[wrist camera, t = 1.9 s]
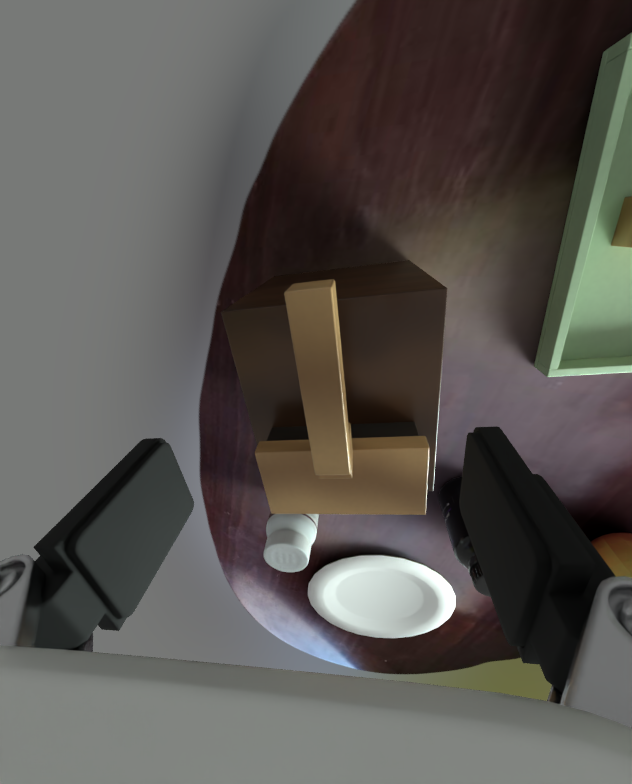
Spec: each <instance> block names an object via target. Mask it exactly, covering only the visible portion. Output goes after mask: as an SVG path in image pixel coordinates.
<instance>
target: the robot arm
mask: <svg viewBox="0 0 632 784" xmlns="http://www.w3.org/2000/svg"><path fill="white" fill-rule="evenodd" d="M459 505H460V511H461V515H462V517H463V520H464V523H465V526H466V529H467V531H468V534H469V537H470V540H471V542H472V545H473V548H474V551H475V554H476V556H477V559H478V562H479V565H480V568H481V570H482V573H483V576H484V579H485V581H486V584H487V587H488V590H489V593H490V595H491V598H492V601H493V604H494V606H495V609H496V612H497V615H498V618H499V620H500V623H501V626H502V629H503V632H504V634H505V637H506V639H507V641H508V643H509V644H510V645H511V646H517V648H518V651H519V653H520V656H521V659H522V661H523V663H530V664H540V666H541V669H542V671H543V674H544V676H545V678H546V680H547V681H548V682H549V683H551V684H552V687H551V691H550V693H549V696H548V700H547V701H543V700H538V699H531V698H526V697H520V696H514V695H509V694H503V693H496V692H488V691H480V690H471V689H463V688H454V687H446V686H438V685H430V684H421V683H413V682H403V681H393V680H383V679H373V678H363V677H353V676H342V675H333V674H322V673H313V672H302V671H293V670H283V669H271V668H261V667H250V666H240V665H230V664H219V663H207V662H197V661H186V660H176V659H164V658H155V657H154V658H153V657H143V656H131V655H120V654H108V653H97V652H93V631H94V629H95V628H96V626H97V625H99V627H100V628H101V629H104V630H118V631H119V630H120V628H121V627H122V625H123V623H124V621H125V620H126V618H127V617H129V616H130V615H131V614H132V613H133V612H134V611H135V609H136V607H137V605H138V604H139V602H140V600H141V599H142V597H143V595H144V593H145V591H146V590H147V588H148V586H149V585H150V583H151V581H152V579H153V578H154V576H155V574H156V573H157V571H158V569H159V567H160V566H161V564H162V562H163V560H164V559H165V557H166V556H167V554H168V552H169V550H170V548H171V547H172V545H173V543H174V542H175V540H176V538H177V537H178V535H179V533H180V531H181V530H182V528H183V526H184V525H185V523H186V521H187V519H188V517H189V516H190V514H191V512H192V510H193V507H194V501H193V498H192V496H191V494H190V491H189V489H188V487H187V484H186V482H185V480H184V477H183V475H182V472H181V470H180V468H179V465H178V463H177V460H176V458H175V456H174V453H173V451H172V449H171V447H170V445H169V444H168V443H166V442H165V440H163V439H161V438H154V439H143V440H142V441H140V442H139V443H138V444H137V445H136V446H135V447H134V448H133V449H132V450H131V451H130V452H129V453H128V454H127V455H126V456H125V457H124V458H123V459H122V460H121V461H120V462H119V463H118V464H117V465H116V466H115V467H114V468H113V469H112V470H111V471H110V472H109V473H108V474H107V475H106V476H105V477H104V478H103V479H102V480H101V481H100V482H99V483H98V484H97V485H96V486H95V487H94V488H93V489H92V490H91V491H90V492H89V493H88V494H87V495H86V496H85V497H84V498H83V499H82V500H81V501H80V502H79V503H78V504H77V505H76V506H75V507H74V508H73V509H72V510H71V511H70V512H69V513H68V514H67V515H66V516H65V517H64V518H63V519H62V520H61V521H60V522H59V523H58V524H57V525H56V526H55V527H53V528H52V529H51V530H50V531H49V532H48V534H47V535H45V536H44V537H43V538H42V539H41V540H40V541H39V542H38V543H37V544H36V545H35V546H34V548H35V550H36V551H37V552H38V553H39V554H40V557H39V558H38V559H37V560H36V561H34V560H33V559H32V558H31V557H30V556H29V555H23V554H22V555H17V556H12V557H10V558H7V559H4V560H2V561H0V784H632V578H631V577H626V576H617V577H616V576H615V574H614V573H613V572H612V570H611V569H610V568H609V566H608V565H607V564H606V562H605V561H604V559H603V558H602V557H601V555H600V554H599V553H598V551H597V550H596V549H595V547H594V546H593V545H592V543H591V542H590V540H589V539H588V538H587V536H586V535H585V534H584V532H583V531H582V530H581V528H580V527H579V526H578V524H577V523H576V521H575V520H574V519H573V517H572V516H571V515H570V513H569V512H568V511H567V509H566V508H565V507H564V505H563V504H562V502H561V501H560V500H559V498H558V497H557V496H556V494H555V493H554V492H553V490H552V489H551V488H550V486H549V485H548V483H547V482H546V481H545V480H544V479H543V478H542V477H541V476H540V475H538V474H532V472H531V471H530V470H529V468H528V467H527V465H526V464H525V463H524V461H523V460H522V458H521V457H520V455H519V454H518V453H517V451H516V450H515V448H514V447H513V446H512V444H511V443H510V441H509V440H508V438H507V437H506V436H505V434H504V433H503V431H502V430H501V429H500V428H499V427H476V428H475V430H474V433H468V435H467V441H466V449H465V458H464V466H463V474H462V483H461V491H460V500H459Z"/></svg>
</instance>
